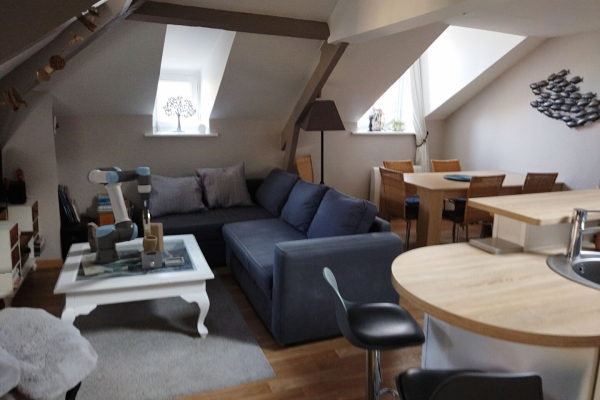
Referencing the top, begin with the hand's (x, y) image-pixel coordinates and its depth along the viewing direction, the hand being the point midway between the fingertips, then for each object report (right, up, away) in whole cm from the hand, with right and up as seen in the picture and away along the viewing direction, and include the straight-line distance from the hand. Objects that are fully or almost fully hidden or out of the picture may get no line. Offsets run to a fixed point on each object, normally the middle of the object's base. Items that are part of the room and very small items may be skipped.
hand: (147, 228), depth 291 cm
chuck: (+2, -25, +2) cm, 25 cm away
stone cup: (-6, -22, +24) cm, 33 cm away
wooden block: (-7, -19, +39) cm, 44 cm away
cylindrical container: (0, -5, +1) cm, 5 cm away
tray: (+15, -24, +10) cm, 30 cm away
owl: (-50, -19, +42) cm, 68 cm away
